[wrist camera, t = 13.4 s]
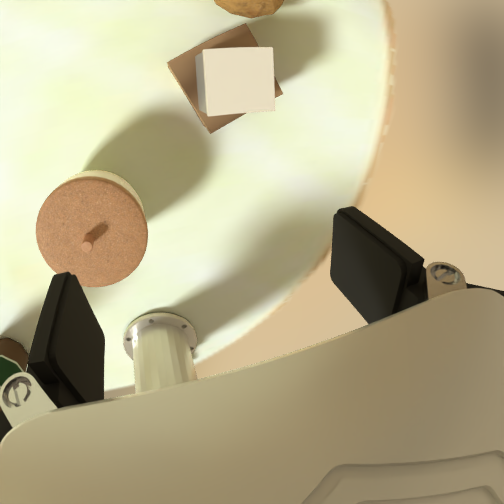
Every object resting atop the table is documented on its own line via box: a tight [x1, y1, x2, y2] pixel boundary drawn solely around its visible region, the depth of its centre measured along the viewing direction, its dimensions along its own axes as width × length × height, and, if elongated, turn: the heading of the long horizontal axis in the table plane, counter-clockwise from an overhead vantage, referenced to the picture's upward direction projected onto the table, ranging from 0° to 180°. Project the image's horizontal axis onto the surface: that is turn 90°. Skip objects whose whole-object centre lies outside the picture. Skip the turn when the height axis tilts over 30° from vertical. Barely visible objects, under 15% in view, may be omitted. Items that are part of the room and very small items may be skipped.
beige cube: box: [195, 47, 275, 117], centre depth 27 cm, size 6×6×6 cm
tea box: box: [167, 23, 283, 134], centre depth 32 cm, size 9×9×5 cm
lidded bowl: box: [36, 170, 148, 287], centre depth 33 cm, size 13×13×11 cm
